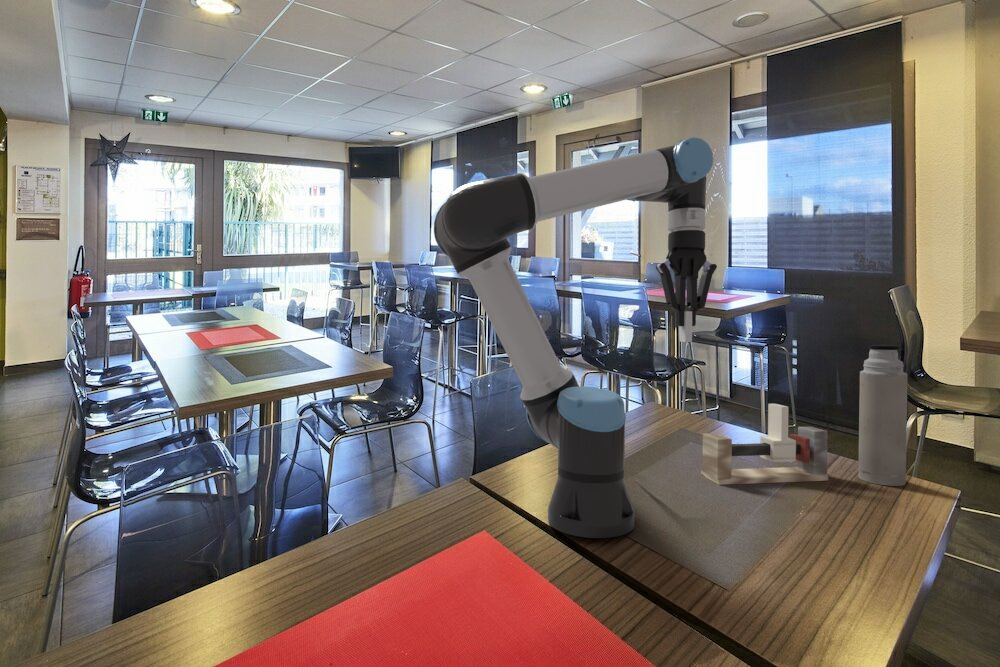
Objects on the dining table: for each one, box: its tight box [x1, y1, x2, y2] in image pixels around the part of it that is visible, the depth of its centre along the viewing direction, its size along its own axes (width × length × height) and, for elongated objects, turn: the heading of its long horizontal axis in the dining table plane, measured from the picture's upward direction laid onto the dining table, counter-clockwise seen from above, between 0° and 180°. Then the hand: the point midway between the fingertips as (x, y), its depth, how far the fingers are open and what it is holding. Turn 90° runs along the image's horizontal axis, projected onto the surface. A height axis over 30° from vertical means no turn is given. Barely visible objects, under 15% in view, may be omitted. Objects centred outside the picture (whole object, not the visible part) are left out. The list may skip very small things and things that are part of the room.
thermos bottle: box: [857, 344, 908, 487], centre depth 110 cm, size 8×8×28 cm
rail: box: [700, 426, 829, 486], centre depth 112 cm, size 24×7×10 cm, turn 97°
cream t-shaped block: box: [759, 403, 797, 463], centre depth 112 cm, size 5×4×11 cm
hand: (685, 341), depth 115 cm, fingers closed
